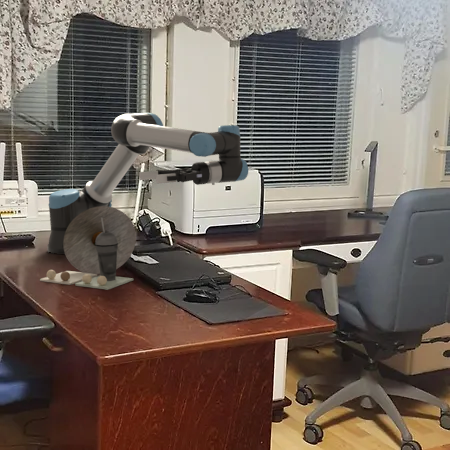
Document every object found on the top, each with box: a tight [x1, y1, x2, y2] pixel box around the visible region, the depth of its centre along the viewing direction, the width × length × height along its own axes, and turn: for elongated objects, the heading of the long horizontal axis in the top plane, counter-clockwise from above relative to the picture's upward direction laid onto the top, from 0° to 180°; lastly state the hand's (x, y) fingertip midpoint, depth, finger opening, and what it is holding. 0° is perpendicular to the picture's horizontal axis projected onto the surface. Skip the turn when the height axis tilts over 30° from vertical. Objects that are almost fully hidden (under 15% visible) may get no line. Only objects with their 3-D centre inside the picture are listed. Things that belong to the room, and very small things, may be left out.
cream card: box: [39, 269, 98, 286], centre depth 243 cm, size 13×13×4 cm
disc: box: [63, 206, 137, 275], centre depth 258 cm, size 25×18×25 cm
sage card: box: [74, 274, 134, 291], centre depth 235 cm, size 13×13×4 cm
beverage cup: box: [95, 218, 118, 281], centre depth 235 cm, size 7×7×20 cm
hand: (148, 177), depth 241 cm, fingers open, 13 cm apart
